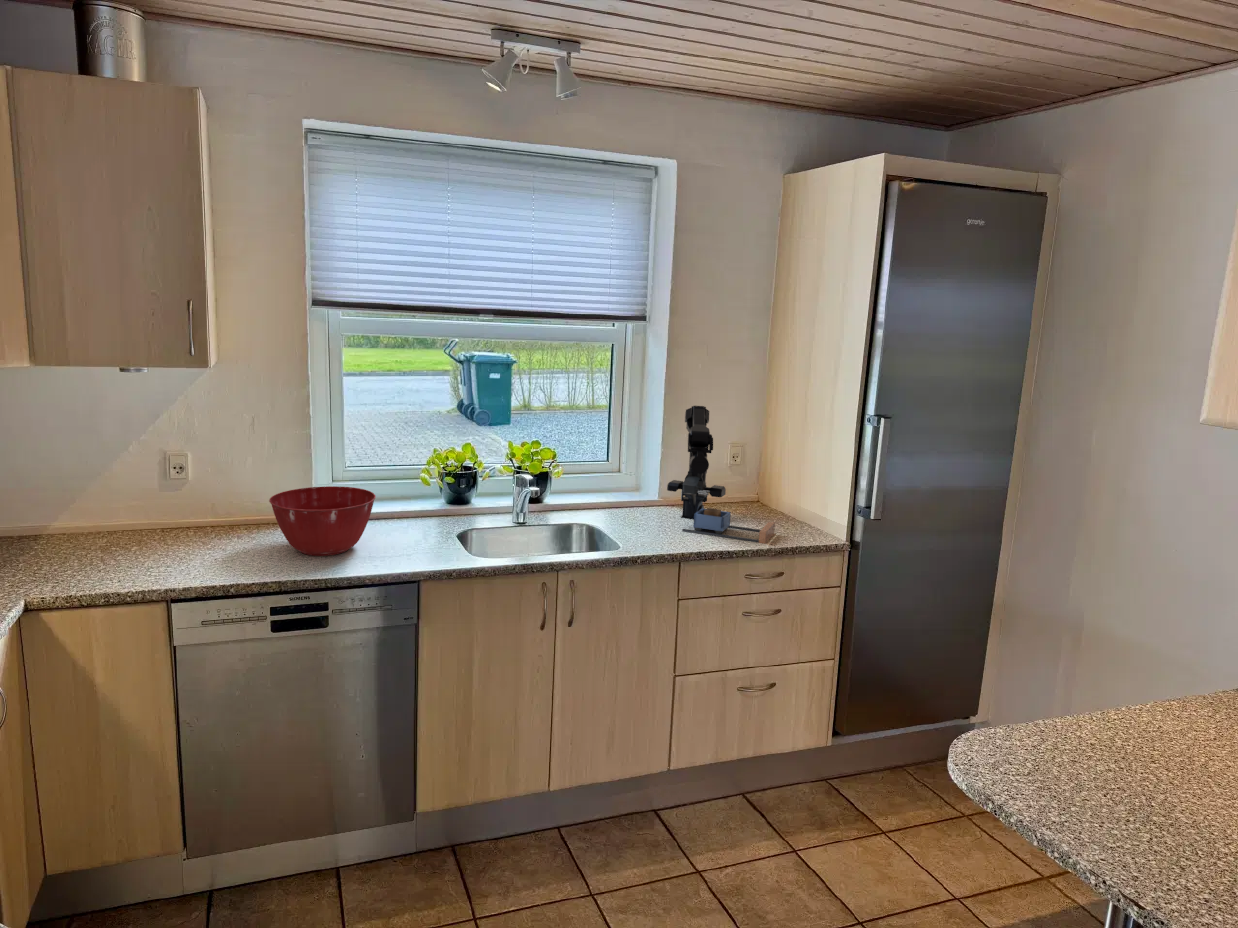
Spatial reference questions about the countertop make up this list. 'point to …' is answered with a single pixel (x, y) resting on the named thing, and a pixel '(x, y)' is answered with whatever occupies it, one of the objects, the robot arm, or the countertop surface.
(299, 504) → the mixing bowl
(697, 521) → the box
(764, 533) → the track
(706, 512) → the block
